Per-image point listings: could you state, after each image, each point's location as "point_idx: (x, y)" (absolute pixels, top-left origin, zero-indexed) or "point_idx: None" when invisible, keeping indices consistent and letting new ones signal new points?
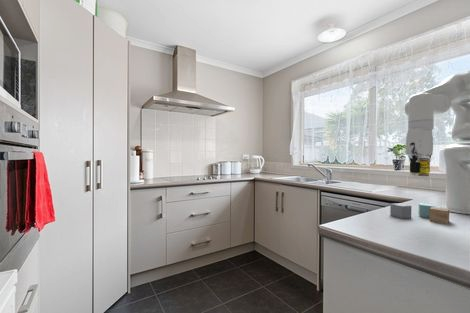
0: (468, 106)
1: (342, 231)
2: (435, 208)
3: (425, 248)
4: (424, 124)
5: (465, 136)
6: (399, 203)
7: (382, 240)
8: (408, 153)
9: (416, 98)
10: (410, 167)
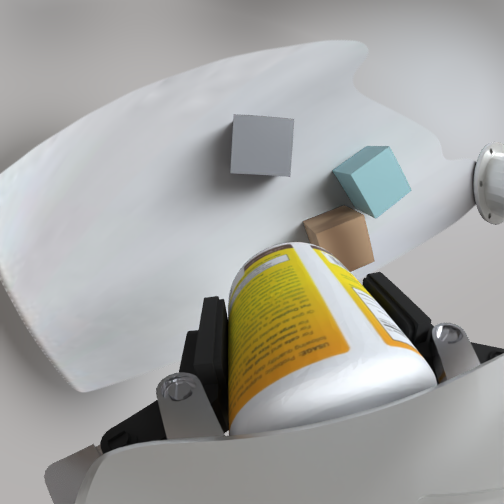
0: None
1: None
2: (337, 240)
3: (76, 350)
4: None
5: None
6: (285, 123)
7: (30, 303)
8: (59, 478)
9: None
10: (202, 326)
